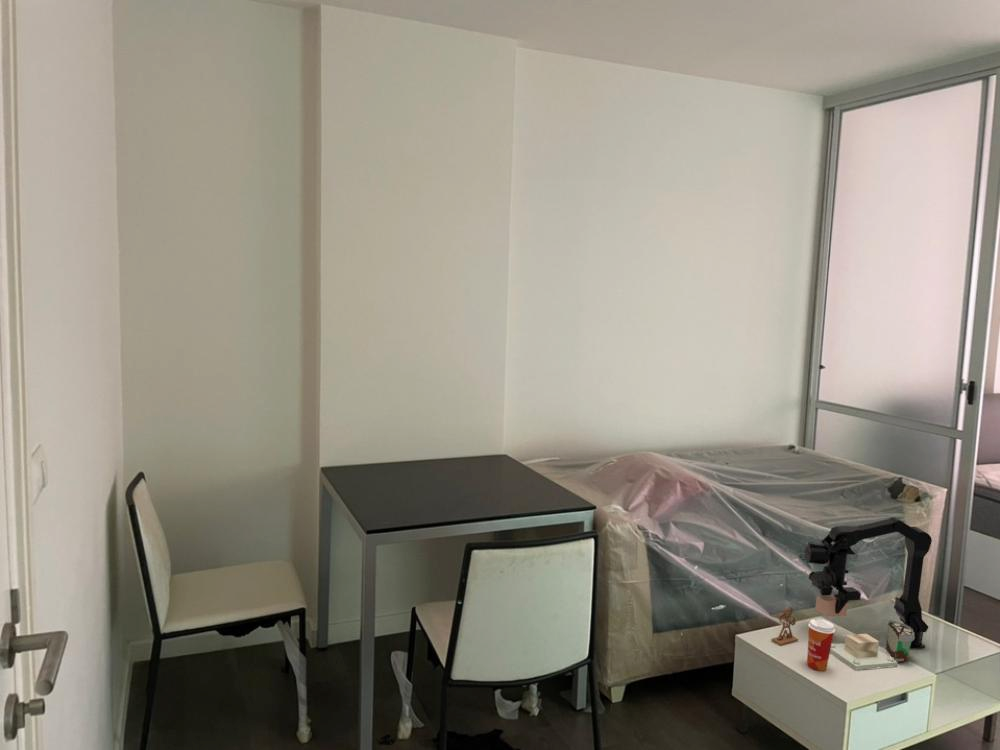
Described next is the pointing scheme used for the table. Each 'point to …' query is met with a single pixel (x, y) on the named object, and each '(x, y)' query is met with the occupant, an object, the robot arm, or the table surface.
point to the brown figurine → (788, 637)
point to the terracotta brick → (829, 606)
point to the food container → (899, 640)
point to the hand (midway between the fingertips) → (831, 609)
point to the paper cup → (819, 644)
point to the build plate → (861, 659)
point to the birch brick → (861, 645)
